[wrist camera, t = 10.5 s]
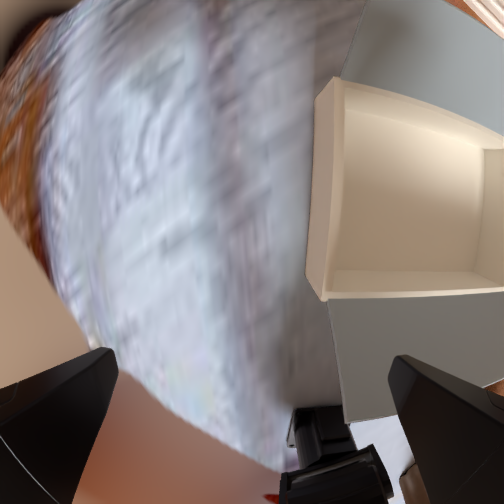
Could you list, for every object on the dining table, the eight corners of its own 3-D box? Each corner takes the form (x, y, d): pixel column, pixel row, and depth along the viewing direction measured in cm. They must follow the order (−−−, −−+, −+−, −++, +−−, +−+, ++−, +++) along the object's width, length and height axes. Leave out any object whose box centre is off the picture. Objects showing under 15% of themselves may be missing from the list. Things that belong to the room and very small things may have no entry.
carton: (472, 276, 21) (504, 293, 16) (304, 274, 21) (320, 301, 16) (484, 145, 18) (520, 144, 13) (314, 99, 18) (333, 76, 13)
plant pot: (470, 445, 30) (503, 495, 14) (405, 492, 33) (427, 546, 17) (456, 425, 27) (501, 491, 11) (374, 483, 30) (398, 554, 14)
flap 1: (341, 79, 12) (340, 75, 12) (524, 148, 13) (523, 144, 13) (378, -27, 5) (376, -29, 6) (571, 107, 6) (569, 103, 6)
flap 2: (510, 290, 15) (507, 293, 16) (328, 298, 15) (326, 302, 15) (540, 358, 10) (537, 361, 11) (347, 421, 10) (344, 423, 10)
